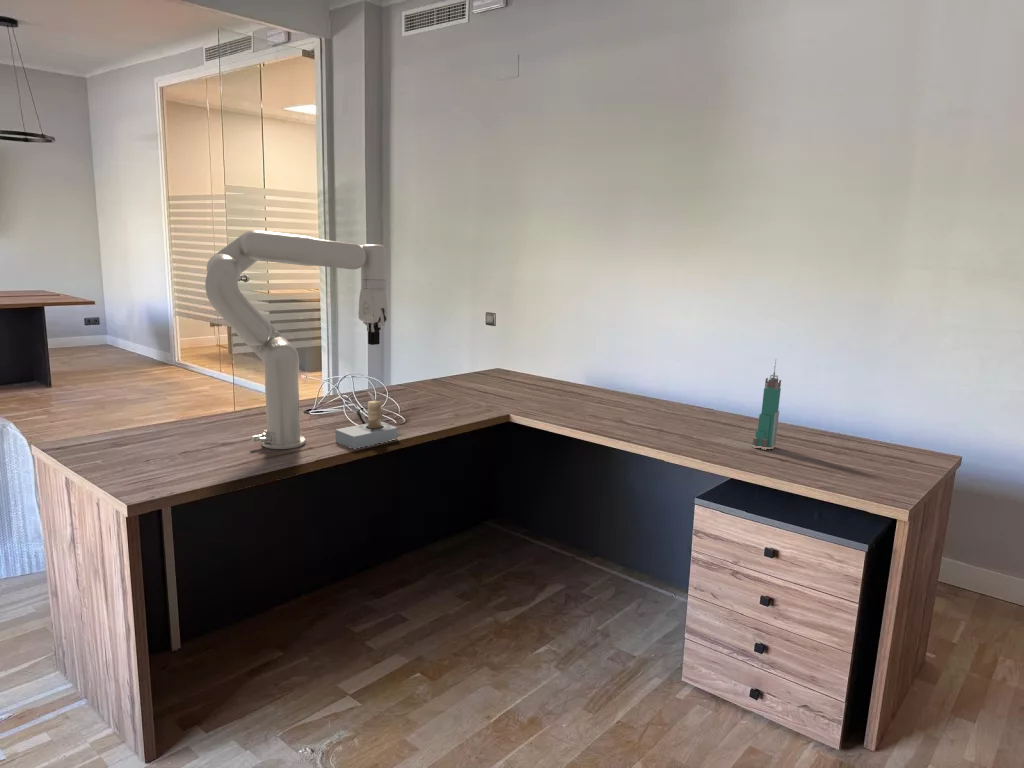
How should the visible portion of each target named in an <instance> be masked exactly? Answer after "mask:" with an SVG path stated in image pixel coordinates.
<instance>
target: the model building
mask: <svg viewBox="0 0 1024 768" xmlns="http://www.w3.org/2000/svg"><path fill="white" fill-rule="evenodd" d="M367 393H368V395H369V398H370V401H377V399H376V398H375V397H376V396H375V395H374V394H373V393H372V392H371V391H367ZM355 407H356V408H357V406H356V405H355ZM357 410H358V412H359V415H360V416H361V420H362V421H363V423H364V424H367V423H368V421H367V418H366V417H365V414H364V413H363V414H364V415H363V414H362V413H361V412H360V411H359V409H358V408H357ZM381 422H383V411H382V410H381Z"/></svg>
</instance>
